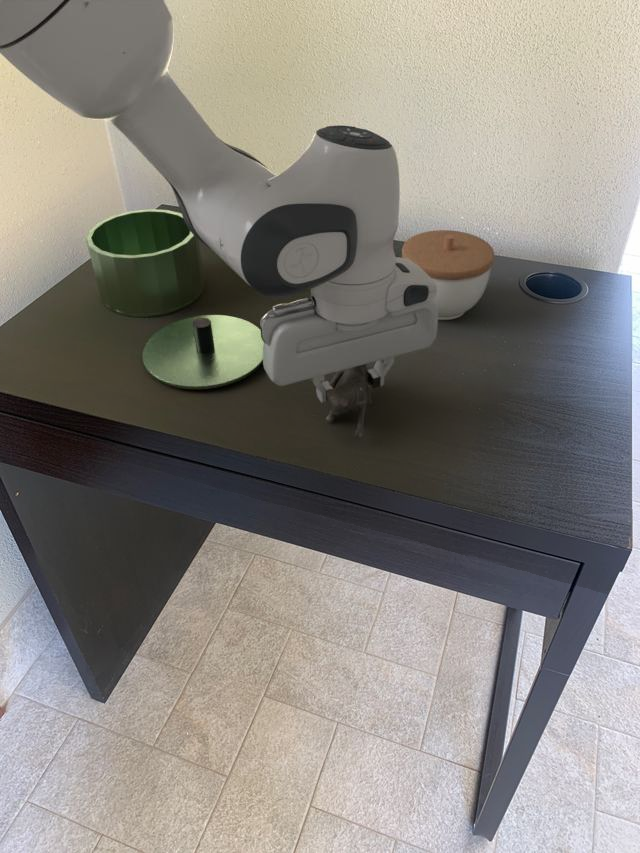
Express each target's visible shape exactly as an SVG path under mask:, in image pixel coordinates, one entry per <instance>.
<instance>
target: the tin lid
mask: <svg viewBox="0 0 640 853" xmlns="http://www.w3.org/2000/svg"><path fill="white" fill-rule="evenodd" d="M263 344H264V341H263V340H262V338H261V331H260V327H258V326H257V325H255V324H254V323H252V322H250V321H248V320H245V319H243V318H239V317H237V316H236V317H235V316H230V315H225V314H205V315H204V314H203V315H196V316H191V317H188V318H183V319H180V320H177V321H175V322H172V323H169V324H167V325H166V326H163V327H162V328H161V329H159V330H158V331H156V332H155V333H154V334H153V335H152V336H151V337H150V338H149V339H148V340H147V342H146V343H145V345H144V348H143V351H142V362H143V366H144V368H145V369H146V371H147V373H148V374H149V375H150V376H151V377H153V379H155V380H157V381H159V382H160V383H162V384H165V385H166V386H171V387H173V388H177V389H183V390H184V389H185V390H209V389H216V388H220V387H226V386H228V385H231V384H234V383H237V382H239V381H241V380H243V379H245V378H247V377H249V376H250V375H252V374H253V373H254V372H256V371H257V370H258V369H259V368H260V367H261V366H262V365H263Z"/></svg>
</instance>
